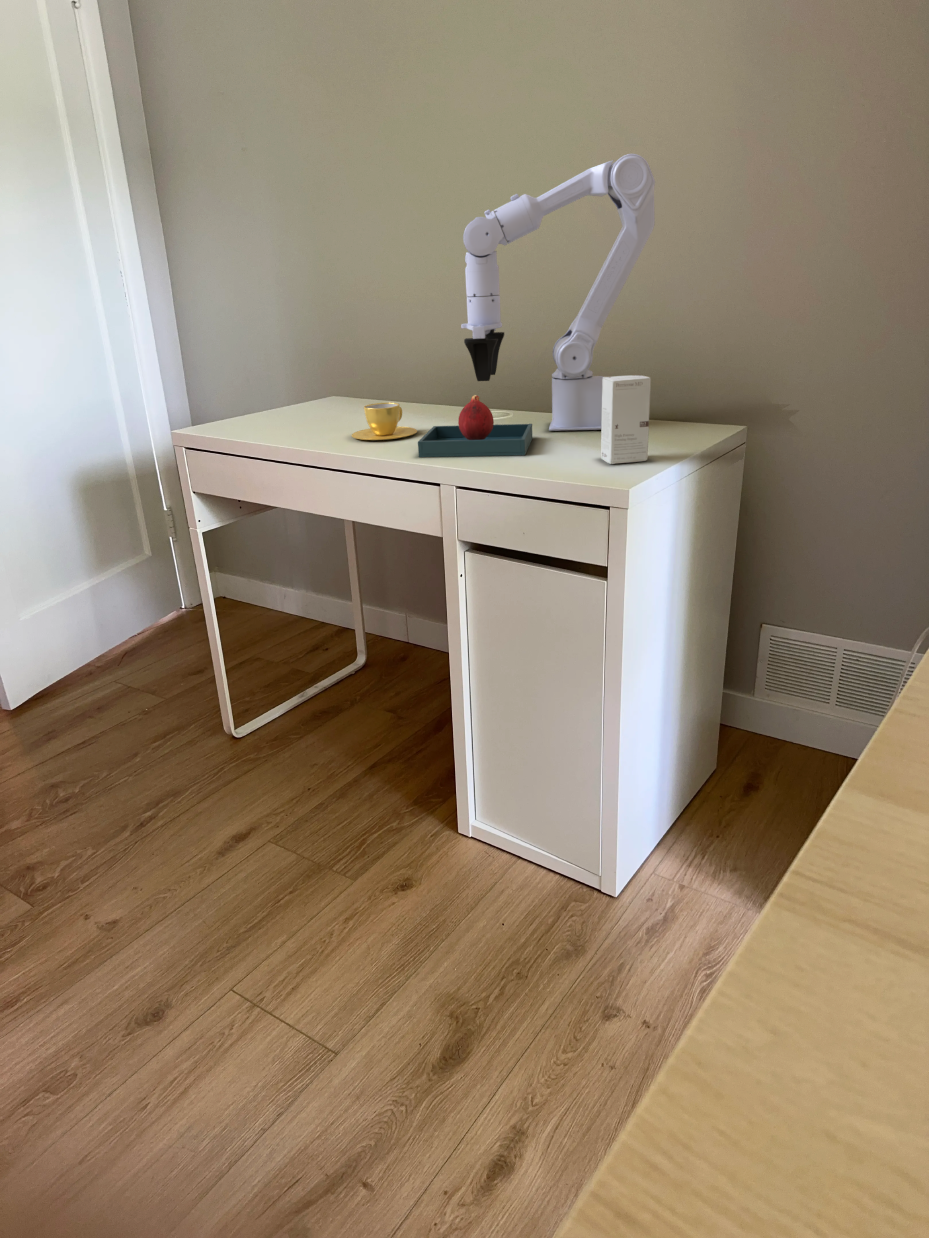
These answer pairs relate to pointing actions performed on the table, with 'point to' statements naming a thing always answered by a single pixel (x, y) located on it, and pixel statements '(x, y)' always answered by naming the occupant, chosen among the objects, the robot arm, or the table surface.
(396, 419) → the cup
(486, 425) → the onion
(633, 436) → the cosmetic box
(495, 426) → the tray
